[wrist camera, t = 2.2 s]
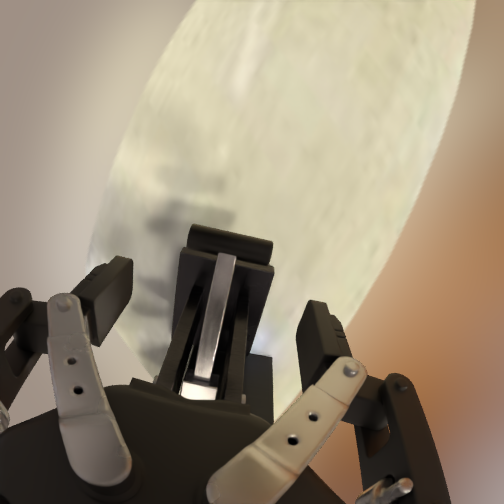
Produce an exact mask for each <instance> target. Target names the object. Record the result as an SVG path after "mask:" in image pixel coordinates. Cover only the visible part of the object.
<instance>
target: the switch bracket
mask: <svg viewBox="0 0 504 504" xmlns="http://www.w3.org/2000/svg"><path fill="white" fill-rule="evenodd" d="M217 257H218V256H217V255H213V254H208V253H204V252H200V251H195V250H191V249H188V248H187V247H183V249H182V251H181V252H180V259H179V267H178V276H177V284H176V294H175V303H174V314H173V325H172V337H171V339H172V341H171V343H170V346H169V349H168V351H167V354H166V357H165V359H164V362H163V365H162V368H161V370H160V373H159V376H157V375H156V376H155V378H154V381H153V384H157V385H160V386H162V387H164V388H166V389H168V390H170V391H172V392H174V393H177V394H179V390H180V387H181V383H182V380H183V376H184V372H185V369H186V365H187V362H188V358H189V355H190V351H191V348H192V345H195V346H199V343H200V338H201V333H202V328H203V323H204V318H205V313H206V308H207V304H208V299H209V294H210V289H211V285H212V280H213V275H214V271H215V266H216V262H217ZM273 277H274V267H272V266H262V265H258V264H253V263H249V262H244V261H240V260H236V262H235V267H234V272H233V276H232V281H231V285H230V290H229V295H228V299H227V304H226V308H225V313H224V318H223V323H222V327H221V332H220V337H219V341H218V346H217V351H222V352H226V356H225V363H224V370H223V376H222V383H221V390H220V397H219V400H226V401H231V402H237V403H243V404H245V402H246V396H245V395H243V394H242V389H243V376H244V363H245V356H249V353H250V350H251V347H252V344H253V341H254V338H255V335H256V332H257V328H258V325H259V322H260V319H261V316H262V312H263V309H264V306H265V303H266V300H267V296H268V293H269V290H270V287H271V283H272V280H273Z"/></svg>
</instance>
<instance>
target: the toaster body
mask: <svg viewBox="0 0 504 504" xmlns="http://www.w3.org/2000/svg"><path fill="white" fill-rule="evenodd" d="M198 348H199V346H195V345H194V346H193V350H192V353H191V357H190V360H189V364H188V368H189V369H193V370H194V369H195V364H196V359H197V353H198ZM225 356H226V352H222V351H216V356H215V361H214V365H213V370H212V374H216V375H219V385H218V392H217V397H216V400H219V397H220V390H221V383H222V376H223V370H224V363H225ZM188 368H187V369H188ZM242 394H243V395H245V396H246V402H245V404H249V405H251V406H250V413H251V414H254V415H256V416H258V417H260V418H262V419H264V420H265V421H267V422H268V423H269V424H271V425H273V424H274V413H273V369H272V357H266V356H260V355H254V354H249V356H245V363H244V376H243V389H242Z"/></svg>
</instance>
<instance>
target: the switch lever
mask: <svg viewBox="0 0 504 504" xmlns="http://www.w3.org/2000/svg"><path fill="white" fill-rule="evenodd" d="M187 248H188V249H191V250H195V251H200V252H204V253H208V254H213V255H217V256H218V257H217V262H216V266H215V271H214V275H213V280H212V285H211V289H210V294H209V299H208V304H207V308H206V313H205V318H204V323H203V328H202V333H201V338H200V343H199V348H198V353H197V359H196V364H195V369H194V370H193V369H189V368H188V369H187V371H186V374H185V376H184V379H183V381H182V386H181V392H180V395H181V396H183V397H185V398H187V399H194V400H216V397H217V392H218V385H219V375H216V374H212V370H213V365H214V361H215V356H216V351H217V346H218V341H219V337H220V332H221V327H222V323H223V318H224V313H225V308H226V304H227V299H228V295H229V290H230V285H231V281H232V276H233V272H234V267H235V262H236V260H240V261H244V262H249V263H253V264H258V265H262V266H268V265H269V262H270V259H271V255H272V250H273V242H272V241H268V240H264V239H260V238H255V237H251V236H246V235H242V234H237V233H233V232H229V231H224V230H220V229H215V228H210V227H206V226H201V225H197V224H192V226H191V228H190V231H189V234H188V239H187Z"/></svg>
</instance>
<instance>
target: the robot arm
mask: <svg viewBox="0 0 504 504" xmlns="http://www.w3.org/2000/svg"><path fill="white" fill-rule="evenodd" d="M132 290H133V260H132V259H129V258H125V257H122V256H115V257H114V258H113V259H112V260H111V261H110V262H109V263H108V264H106V263H104V264H101V265H99V266H97V267H95V268H94V269H93V270H92V271H91V272H90V274H88V275H87V276H86V277H85V279H83V280H82V281H81V282H80V283H79V284H78V285H77V286H76V287H75V288H74V289H73V290H72V291H71V292H70V293H60V294H56V295H54V296H52V297H51V298H50V299H49V300H48V302H41V301H32V296H31V293H30V291H29V290H27V289H25V288H13V289H11V290H8V291H7V292H6V293H5V294H4V295H3V296H2V297H1V298H0V504H346V503H345V502H344V501H342V500H341V499H340V498H339V497H338V496H337V495H336V494H335V493H334V492H333V491H332V490H331V489H330V488H329V487H328V486H327V484H325V482H324V481H323V480H322V479H321V478H320V477H319V476H318V475H317V474H316V473H315V472H314V471H313V470H312V469H311V468H310V467H309V466H308V464H309V462H310V461H311V460H312V459H313V458H314V456H315V455H316V454H317V452H318V451H319V449H321V447H322V446H323V445H324V443H325V442H326V440H327V439H328V438H329V436H330V435H331V434H332V432H333V431H334V429H335V428H336V426H337V425H338V424H339V422H340V421H344V422H347V423H351V424H354V428H355V435H356V441H357V448H358V455H359V462H360V469H361V477H362V485H363V492H362V493H361V494H360V495H359V496H358V497H357V499H356V501H355V504H451V501H450V496H449V492H448V488H447V484H446V481H445V477H444V473H443V470H442V466H441V463H440V460H439V456H438V453H437V450H436V447H435V443H434V440H433V438H432V434H431V431H430V428H429V425H428V423H427V420H426V417H425V414H424V412H423V409H422V406H421V404H420V401H419V398H418V395H417V393H416V390H415V388H414V385H413V384H412V382H411V381H410V380H409V379H408V378H407V377H405V376H404V375H401V374H398V373H391V374H389V375H388V376H387V377H386V379H385V380H381V379H378V378H375V377H372V376H369V375H367V370H366V368H365V366H364V365H363V364H362V363H361V362H360V361H358V360H356V359H354V358H353V357H352V354H351V351H350V348H349V345H348V342H347V339H346V336H345V333H344V332H343V331H344V330H343V327H342V325H341V322H340V321H339V320H338V319H337V318H336V317H335V315H330V313H329V310H328V307H327V304H326V303H324V302H319V301H314V300H309V301H308V303H307V305H306V308H305V310H304V313H303V315H302V318H301V320H300V323H299V325H298V328H297V332H296V344H297V352H298V360H299V367H300V375H301V383H302V392H303V394H302V395H301V396H300V398H299V399H298V400H297V401H296V402H295V403H294V404H293V405H292V406H291V407H290V408H289V409H288V410H287V411H286V412H285V413H284V414H283V415H282V416H281V417H280V418H279V419H278V420H277V421H276V422H275V423H274V424H273V425H271V424H269V423H268V422H267V421H265V420H264V419H262V418H260V417H258V416H256V415H254V414H251V413H250V406H251V405H249V404H243V403H237V402H231V401H226V400H194V399H187V398H185V397H183V396H181V395H179V394H177V393H174V392H172V391H170V390H168V389H166V388H164V387H162V386H160V385H157V384H153V383H150V382H146V381H143V380H140V379H136V378H132V380H131V382H130V385H112V386H108V387H103V386H102V382H101V379H100V376H99V373H98V369H97V366H96V362H95V359H94V356H93V352H92V348H91V344H92V345H94V346H97V347H100V346H101V344H102V342H103V341H104V339H105V337H106V336H107V334H108V333H109V331H110V330H111V328H112V327H113V325H114V324H115V322H116V321H117V319H118V318H119V316H120V314H121V313H122V311H123V310H124V308H125V307H126V305H127V304H128V303H129V301H130V299H131V295H132ZM12 335H13V337H14V340H13V341H12V343H11V344H10V345H9V346H8V348H7V349H6V350H5V346H6V343H7V342H8V341H9V339H10V338H11V337H12ZM42 353H44V354H48V356H49V364H50V370H51V378H52V384H53V390H54V396H55V400H56V406H57V408H55V409H53V410H50V411H48V412H46V413H43V414H41V415H39V416H36V417H34V418H31V419H29V420H26V421H24V422H21V423H19V424H16V425H14V426H11V427H9V428H8V425H9V421H10V417H9V413H8V410H9V408H10V406H11V404H12V402H13V400H14V399H15V397H16V395H17V394H18V392H19V390H20V388H21V387H22V385H23V383H24V382H25V380H26V378H27V377H28V375H29V374H30V372H31V370H32V369H33V367H34V366H35V364H36V363H37V361H38V359H39V358H40V356H41V355H42ZM387 424H388V425H387ZM388 426H389V429H388ZM389 430H390V433H389Z"/></svg>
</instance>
